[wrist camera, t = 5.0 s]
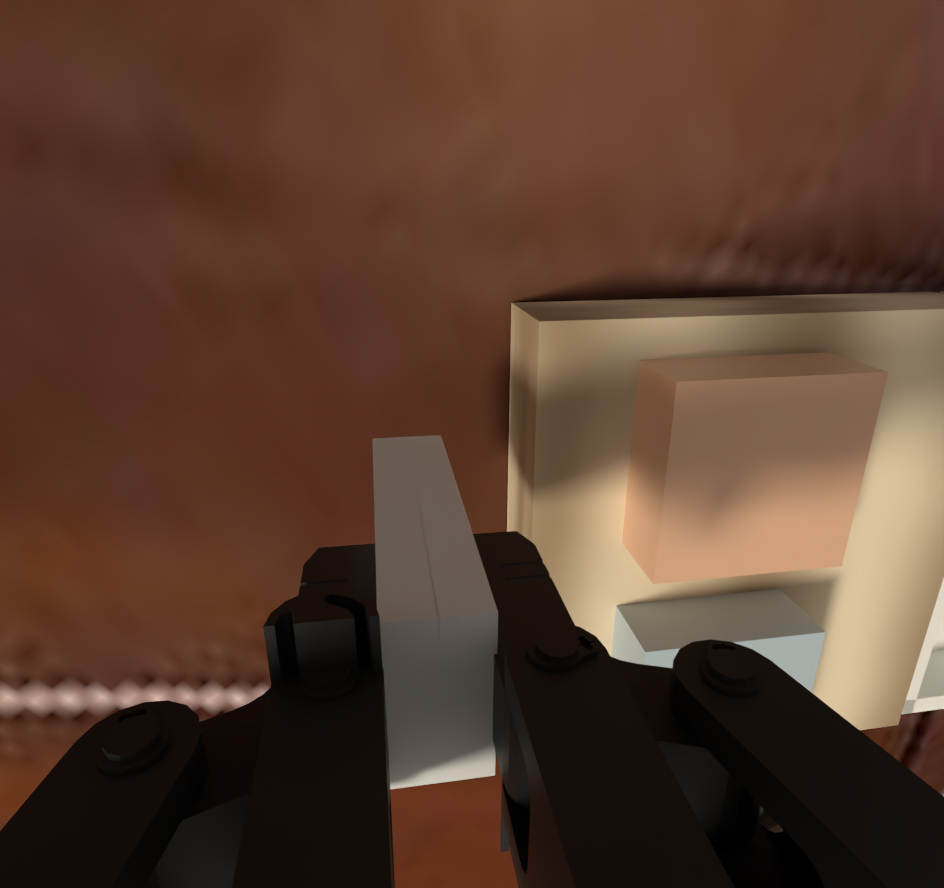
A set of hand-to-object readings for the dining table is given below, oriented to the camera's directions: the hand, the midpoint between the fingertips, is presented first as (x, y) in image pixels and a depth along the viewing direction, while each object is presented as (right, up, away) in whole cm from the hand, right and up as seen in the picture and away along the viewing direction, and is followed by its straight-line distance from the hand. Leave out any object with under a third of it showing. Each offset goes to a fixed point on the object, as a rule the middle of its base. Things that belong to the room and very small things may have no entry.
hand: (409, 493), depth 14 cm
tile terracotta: (+8, +1, +2) cm, 8 cm away
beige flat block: (+9, -1, +6) cm, 11 cm away
